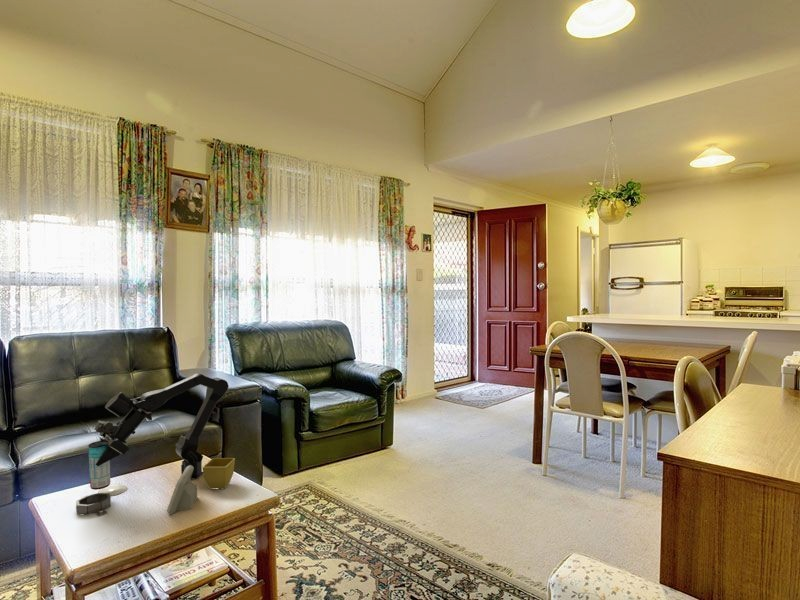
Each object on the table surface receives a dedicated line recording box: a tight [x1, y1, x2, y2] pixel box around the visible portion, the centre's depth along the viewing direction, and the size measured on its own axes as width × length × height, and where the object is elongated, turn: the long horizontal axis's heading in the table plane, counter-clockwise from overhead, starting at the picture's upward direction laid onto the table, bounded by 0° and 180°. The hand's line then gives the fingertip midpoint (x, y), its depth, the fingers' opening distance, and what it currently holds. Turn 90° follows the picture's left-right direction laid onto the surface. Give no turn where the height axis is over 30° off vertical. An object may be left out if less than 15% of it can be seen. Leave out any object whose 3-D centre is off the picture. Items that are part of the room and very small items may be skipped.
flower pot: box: [202, 457, 236, 489], centre depth 172 cm, size 9×9×9 cm
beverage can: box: [88, 440, 111, 491], centre depth 162 cm, size 6×6×15 cm
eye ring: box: [75, 492, 112, 517], centre depth 156 cm, size 15×10×3 cm
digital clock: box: [166, 465, 198, 515], centre depth 158 cm, size 16×9×11 cm, turn 1°
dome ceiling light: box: [97, 483, 128, 497], centre depth 170 cm, size 9×9×1 cm
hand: (94, 463), depth 161 cm, fingers closed on beverage can, 6 cm apart
